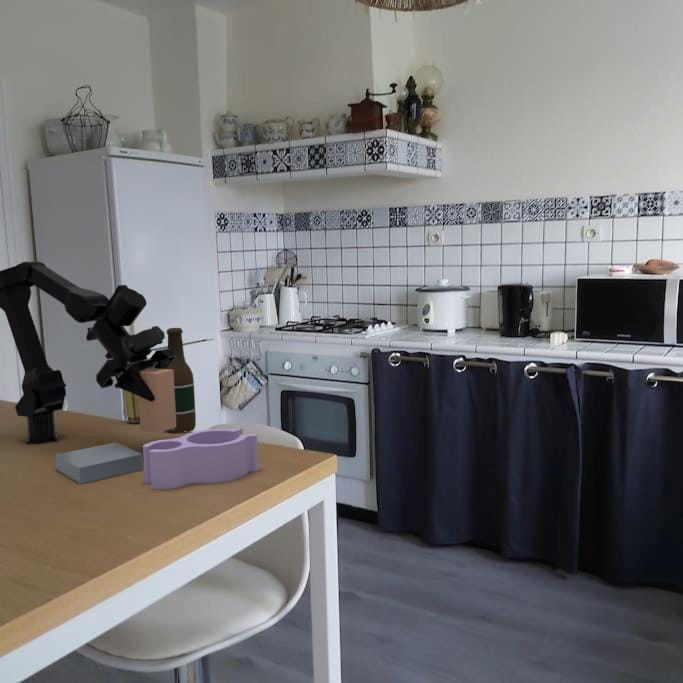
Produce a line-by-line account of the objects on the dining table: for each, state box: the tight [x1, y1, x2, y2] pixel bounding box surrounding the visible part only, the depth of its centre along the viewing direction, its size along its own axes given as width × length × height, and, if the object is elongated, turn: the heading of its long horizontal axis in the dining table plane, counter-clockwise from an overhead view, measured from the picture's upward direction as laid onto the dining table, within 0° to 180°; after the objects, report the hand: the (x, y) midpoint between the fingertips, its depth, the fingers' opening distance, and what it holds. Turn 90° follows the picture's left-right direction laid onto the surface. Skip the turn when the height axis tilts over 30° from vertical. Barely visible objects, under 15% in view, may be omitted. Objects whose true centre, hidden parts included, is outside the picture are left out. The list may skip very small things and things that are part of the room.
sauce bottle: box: [123, 370, 144, 424], centre depth 171 cm, size 6×6×20 cm
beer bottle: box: [164, 327, 197, 434], centre depth 161 cm, size 8×8×24 cm
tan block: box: [139, 368, 176, 434], centre depth 140 cm, size 5×5×12 cm
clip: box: [142, 426, 259, 491], centre depth 127 cm, size 20×12×7 cm, turn 123°
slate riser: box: [55, 442, 144, 485], centre depth 132 cm, size 12×12×3 cm
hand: (162, 397), depth 140 cm, fingers closed on tan block, 5 cm apart
